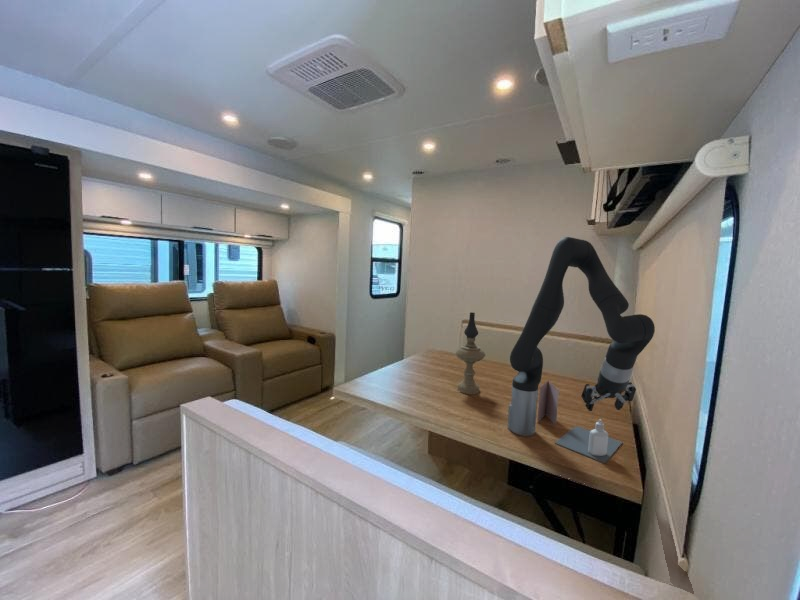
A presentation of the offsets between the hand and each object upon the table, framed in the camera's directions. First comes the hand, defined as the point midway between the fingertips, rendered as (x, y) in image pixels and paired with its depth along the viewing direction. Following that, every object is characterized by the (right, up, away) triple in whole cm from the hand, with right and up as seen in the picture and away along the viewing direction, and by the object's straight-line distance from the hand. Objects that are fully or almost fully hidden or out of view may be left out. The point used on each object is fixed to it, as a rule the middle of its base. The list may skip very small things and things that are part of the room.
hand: (602, 408), depth 107 cm
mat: (+3, -17, +14) cm, 22 cm away
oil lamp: (-30, -12, +63) cm, 71 cm away
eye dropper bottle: (+2, -18, +6) cm, 19 cm away
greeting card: (-3, -16, +31) cm, 35 cm away
